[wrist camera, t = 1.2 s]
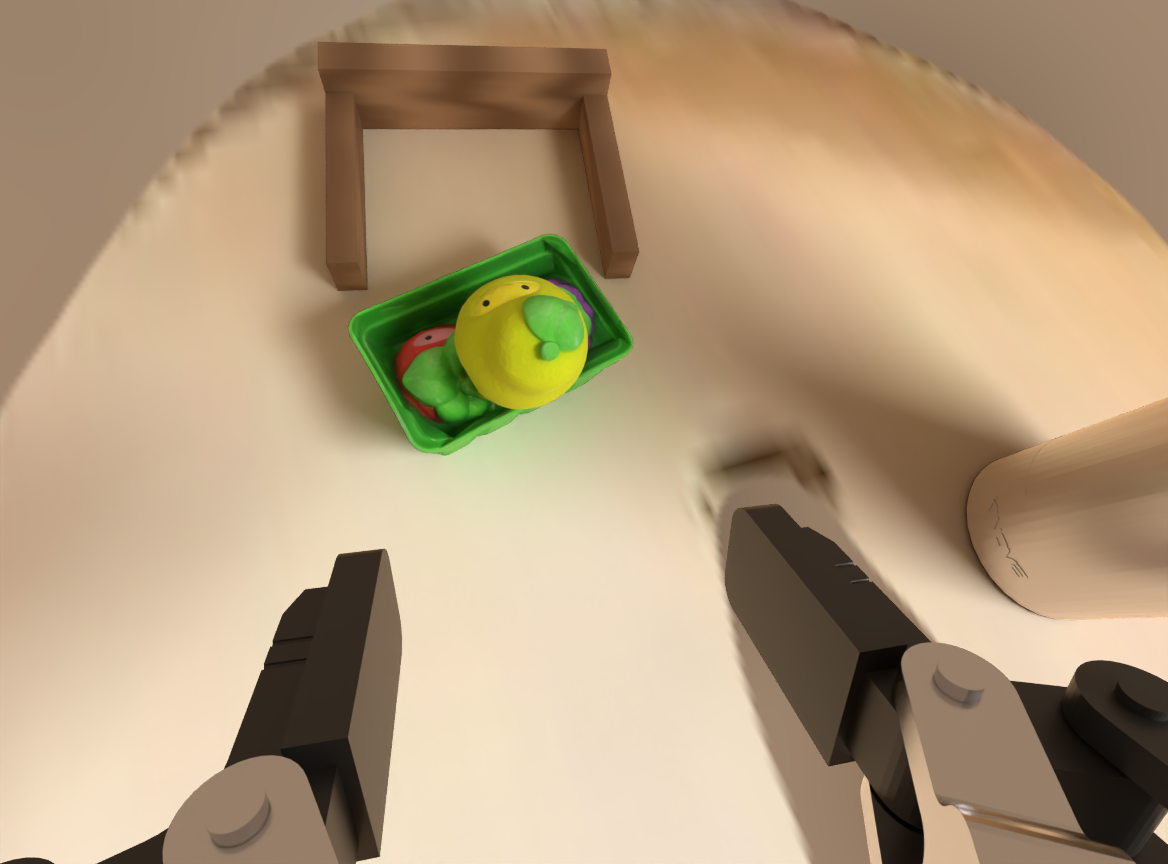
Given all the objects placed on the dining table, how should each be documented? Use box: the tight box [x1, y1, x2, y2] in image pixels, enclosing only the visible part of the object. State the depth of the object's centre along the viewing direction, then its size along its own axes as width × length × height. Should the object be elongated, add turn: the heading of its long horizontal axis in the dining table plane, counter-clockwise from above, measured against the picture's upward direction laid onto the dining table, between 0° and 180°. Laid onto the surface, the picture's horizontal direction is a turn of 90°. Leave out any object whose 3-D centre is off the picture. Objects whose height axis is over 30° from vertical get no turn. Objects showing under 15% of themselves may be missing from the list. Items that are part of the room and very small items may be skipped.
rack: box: [318, 42, 639, 291], centre depth 34 cm, size 16×14×4 cm
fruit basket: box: [348, 234, 633, 455], centre depth 26 cm, size 11×9×11 cm
